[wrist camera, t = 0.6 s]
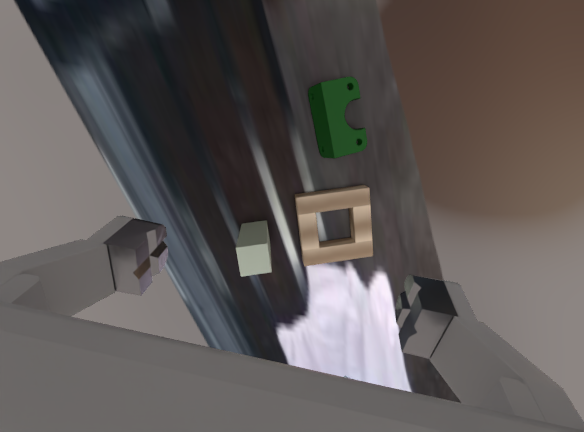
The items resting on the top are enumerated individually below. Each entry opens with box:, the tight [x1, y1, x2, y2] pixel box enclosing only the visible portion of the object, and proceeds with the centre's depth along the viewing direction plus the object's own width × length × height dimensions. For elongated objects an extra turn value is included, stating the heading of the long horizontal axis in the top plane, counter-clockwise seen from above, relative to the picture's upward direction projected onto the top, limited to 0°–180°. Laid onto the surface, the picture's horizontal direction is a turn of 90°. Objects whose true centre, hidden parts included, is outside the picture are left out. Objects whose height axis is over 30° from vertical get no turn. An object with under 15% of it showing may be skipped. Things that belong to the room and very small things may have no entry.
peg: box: [236, 220, 272, 277], centre depth 52 cm, size 4×4×12 cm
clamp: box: [308, 77, 367, 158], centre depth 51 cm, size 12×6×9 cm, turn 7°
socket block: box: [295, 185, 373, 266], centre depth 57 cm, size 12×12×3 cm
